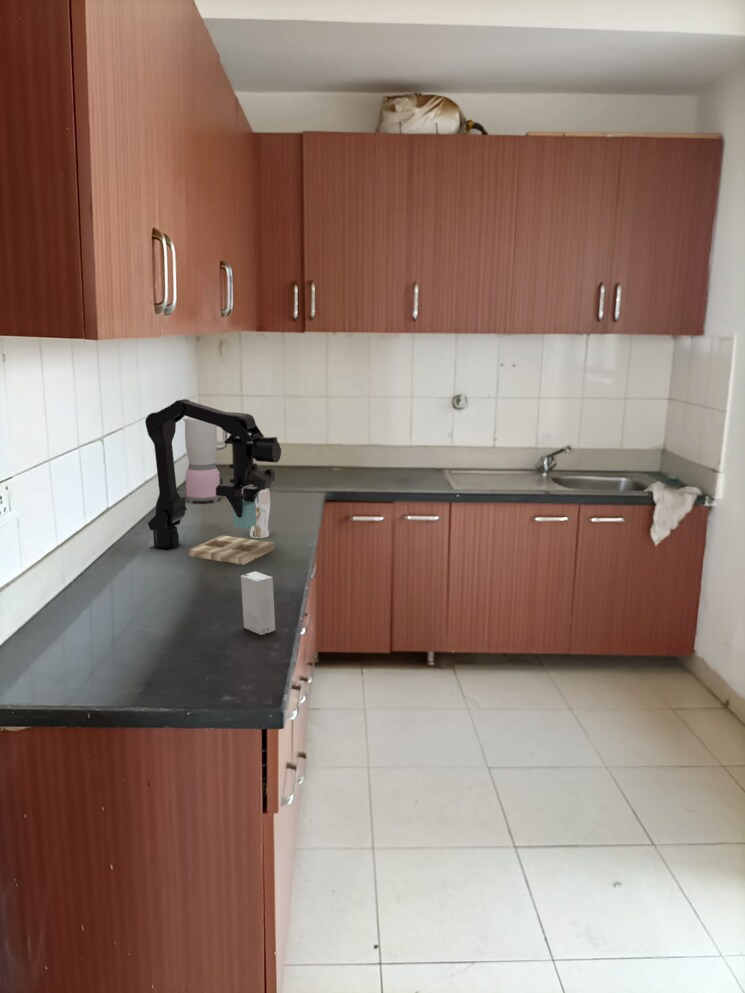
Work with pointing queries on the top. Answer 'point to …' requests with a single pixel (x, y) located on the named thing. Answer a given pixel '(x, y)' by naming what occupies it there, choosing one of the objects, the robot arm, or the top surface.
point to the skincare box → (258, 602)
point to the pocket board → (231, 549)
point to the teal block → (246, 516)
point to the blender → (202, 460)
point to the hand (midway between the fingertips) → (244, 515)
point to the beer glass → (261, 515)
